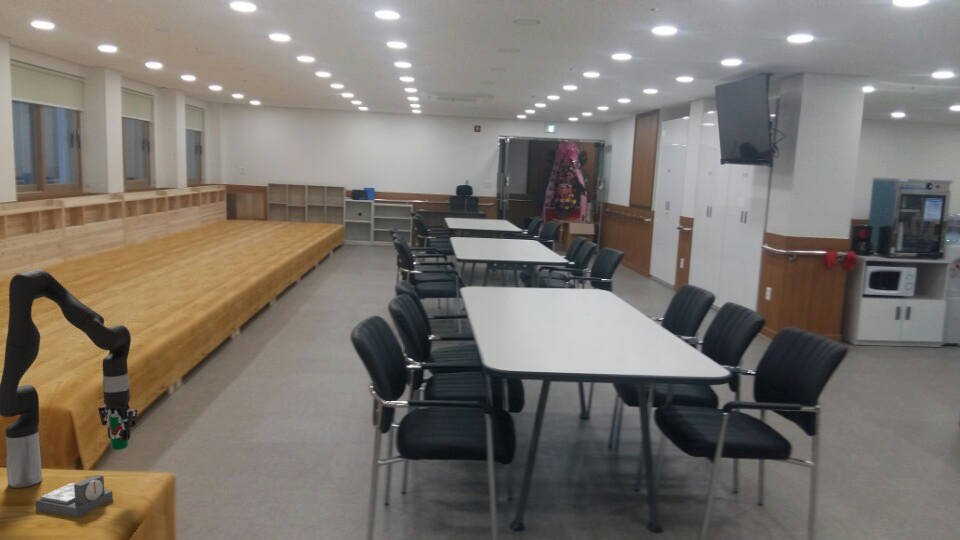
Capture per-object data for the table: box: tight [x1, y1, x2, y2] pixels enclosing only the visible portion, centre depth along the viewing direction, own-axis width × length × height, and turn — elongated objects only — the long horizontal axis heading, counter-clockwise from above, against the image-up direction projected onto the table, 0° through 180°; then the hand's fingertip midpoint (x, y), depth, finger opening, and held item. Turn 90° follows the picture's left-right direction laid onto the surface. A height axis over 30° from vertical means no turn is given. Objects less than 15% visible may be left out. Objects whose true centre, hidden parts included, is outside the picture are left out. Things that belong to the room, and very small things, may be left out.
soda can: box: [109, 413, 129, 451], centre depth 224 cm, size 5×5×12 cm
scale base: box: [34, 474, 114, 518], centre depth 218 cm, size 17×13×9 cm
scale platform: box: [39, 482, 76, 504], centre depth 219 cm, size 11×11×1 cm
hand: (119, 438), depth 225 cm, fingers closed on soda can, 5 cm apart
